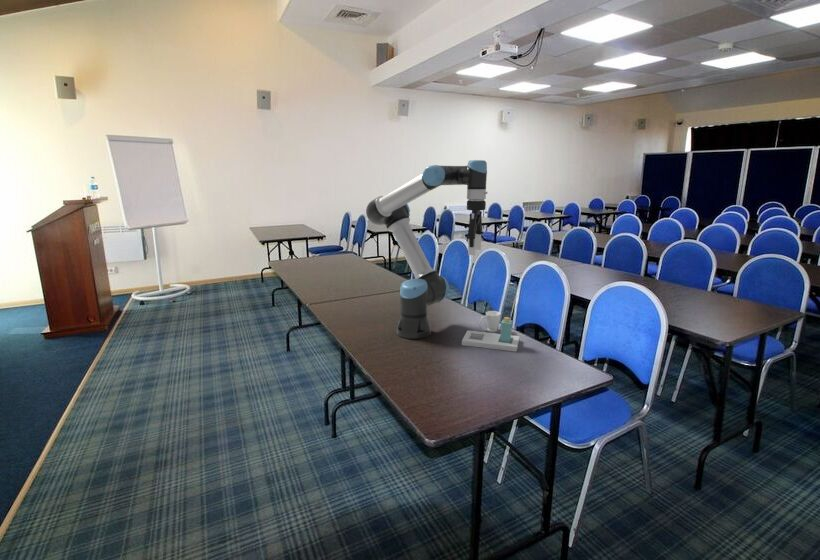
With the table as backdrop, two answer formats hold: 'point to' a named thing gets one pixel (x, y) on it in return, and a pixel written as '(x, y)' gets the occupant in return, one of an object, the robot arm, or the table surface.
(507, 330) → the plug
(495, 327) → the cup
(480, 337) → the panel
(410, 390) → the table surface
